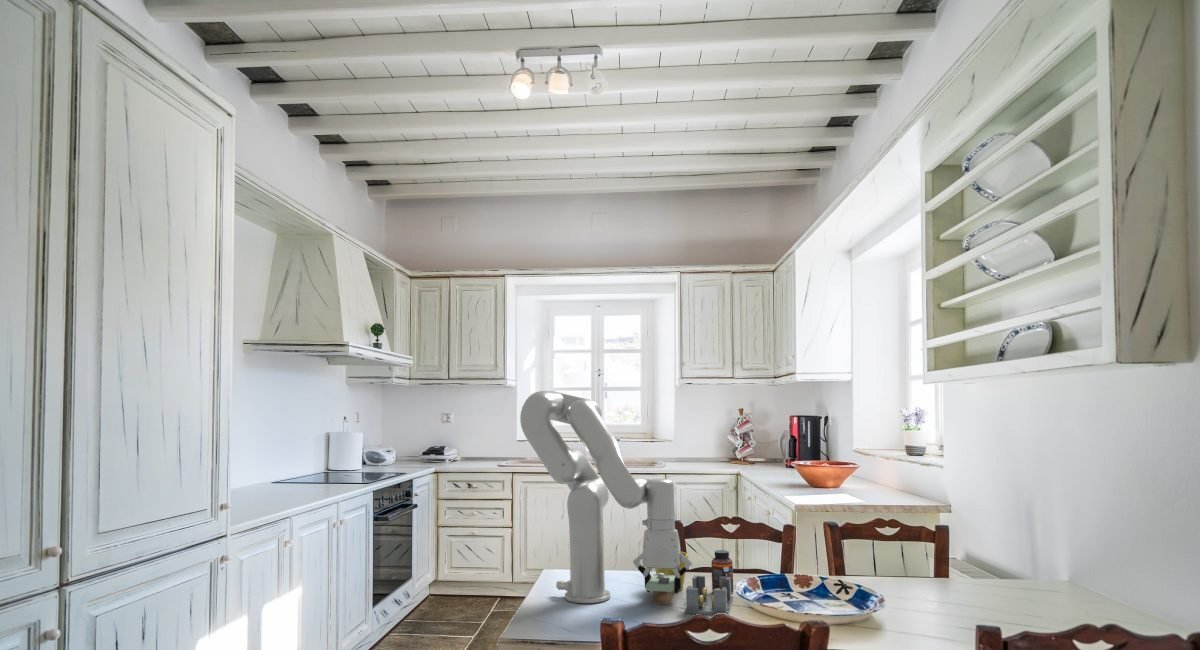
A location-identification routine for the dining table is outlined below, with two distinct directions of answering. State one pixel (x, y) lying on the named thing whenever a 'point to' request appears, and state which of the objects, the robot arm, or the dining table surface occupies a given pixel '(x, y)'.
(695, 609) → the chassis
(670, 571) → the plant pot
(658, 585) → the board
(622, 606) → the dining table surface
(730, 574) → the supplement bottle
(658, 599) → the wooden block
